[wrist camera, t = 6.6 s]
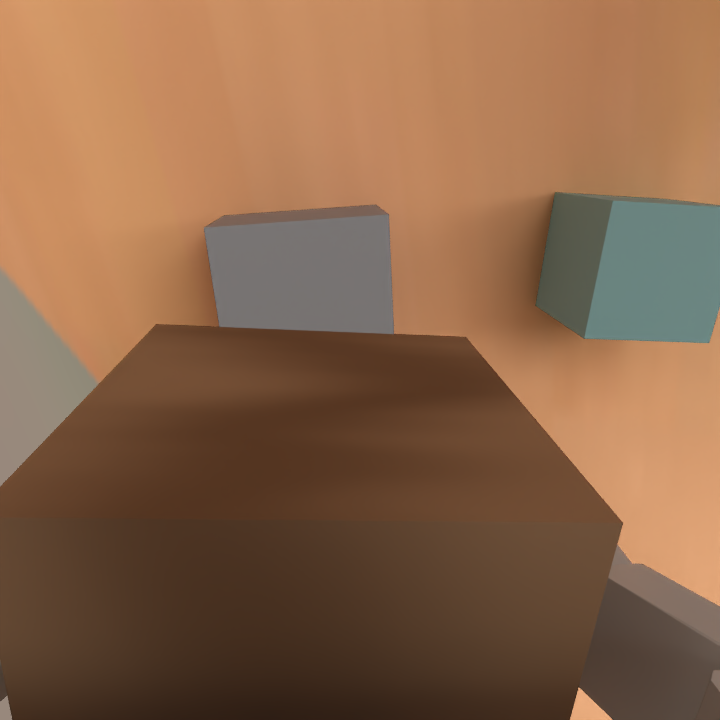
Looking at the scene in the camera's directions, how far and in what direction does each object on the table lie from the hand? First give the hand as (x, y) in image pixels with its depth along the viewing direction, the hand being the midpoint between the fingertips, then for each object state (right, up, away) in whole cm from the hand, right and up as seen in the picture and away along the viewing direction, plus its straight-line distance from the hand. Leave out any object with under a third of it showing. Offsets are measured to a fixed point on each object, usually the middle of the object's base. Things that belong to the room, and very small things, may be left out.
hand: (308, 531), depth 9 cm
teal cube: (+13, +8, +18) cm, 24 cm away
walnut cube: (0, +1, +2) cm, 2 cm away
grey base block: (-2, +6, +18) cm, 19 cm away
